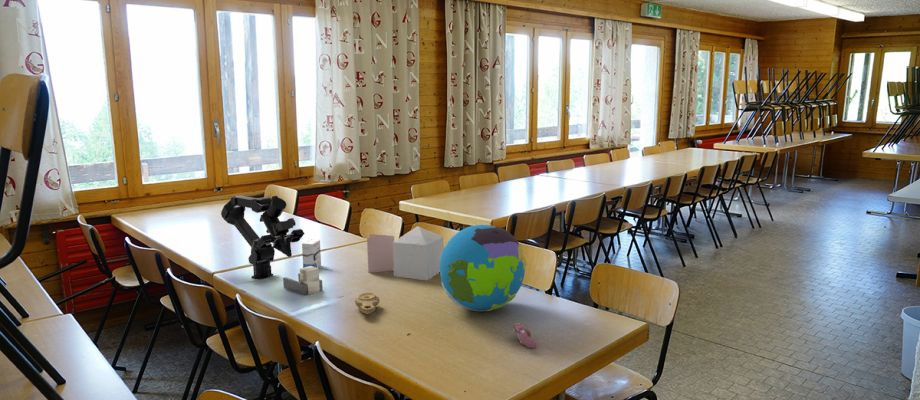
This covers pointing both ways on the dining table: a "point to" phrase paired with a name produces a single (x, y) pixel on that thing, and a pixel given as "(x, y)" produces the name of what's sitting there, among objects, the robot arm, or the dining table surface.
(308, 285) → the block
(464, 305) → the globe
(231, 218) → the robot arm
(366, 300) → the oil lamp
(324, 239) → the dining table surface
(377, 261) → the greeting card
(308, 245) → the ink box
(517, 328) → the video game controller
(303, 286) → the chute
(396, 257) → the decorative block
